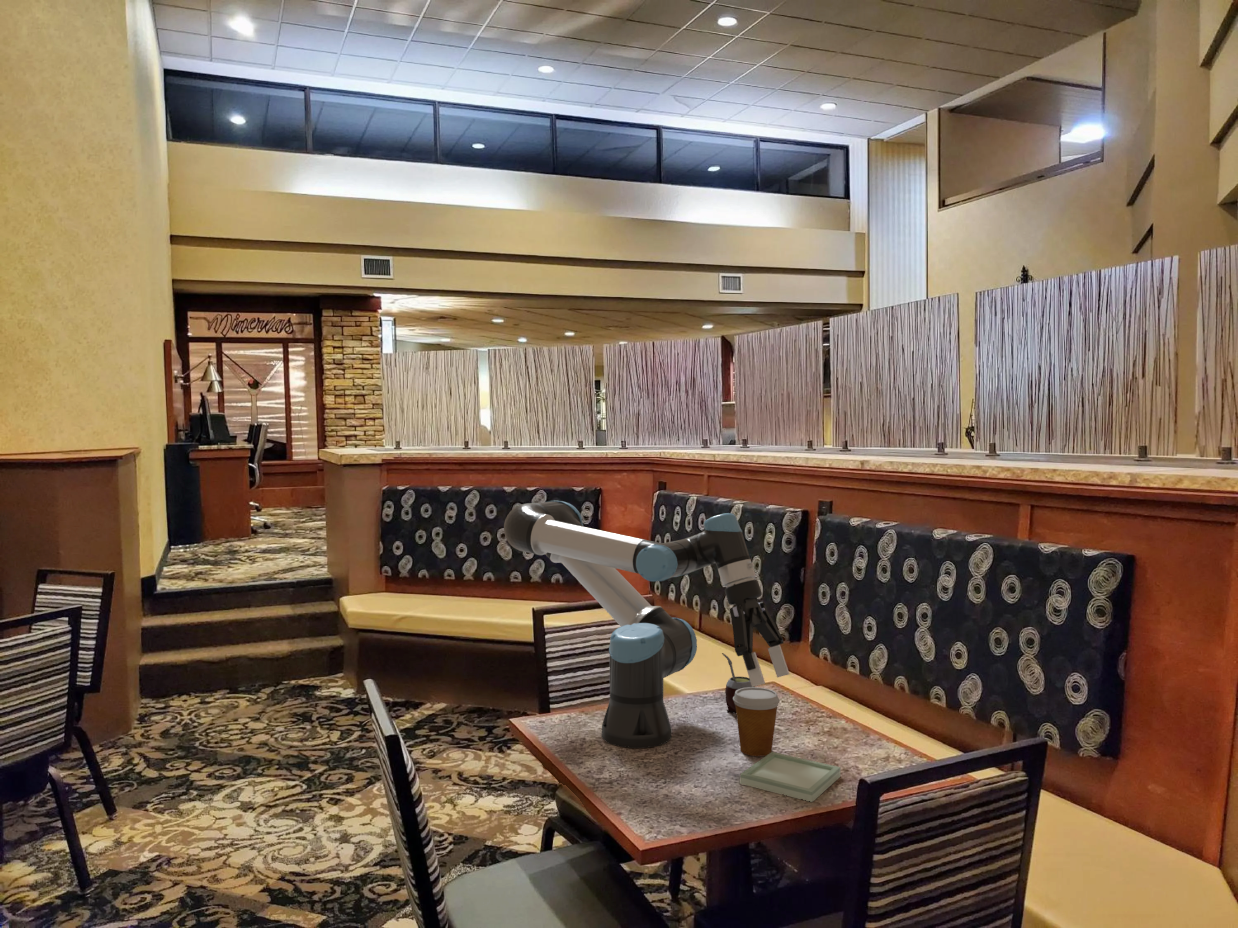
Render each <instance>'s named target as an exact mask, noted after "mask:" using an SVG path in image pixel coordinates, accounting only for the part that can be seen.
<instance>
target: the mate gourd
mask: <svg viewBox="0 0 1238 928" xmlns="http://www.w3.org/2000/svg"><path fill="white" fill-rule="evenodd" d="M721 654H722V656H723V657H724V658H726V659H727V663H728V665H729V668H730V673H731V677H729V679H728V680H727V682H726V684H725V689H724V690H725V692H724V693H725V703H726V706H727V710H726V713H727V714H728V713H729V714H736V706H735V703H734V701H733V697H734V695H735V691H736V690H738V689H741V688H747V687H752V685H751V682H750V678H749V677H746V676H735V672H734V669H733V668H734V667H733V662H732V660H731V659H730V657H729V656H728V655H726V654H725V653H721ZM754 687H756V686H754Z"/></svg>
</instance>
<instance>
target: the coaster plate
mask: <svg viewBox="0 0 1238 928" xmlns="http://www.w3.org/2000/svg"><path fill="white" fill-rule="evenodd" d="M739 776H740V778H739V784H740V785H744V786H748V787H752V788H755V789H760V790H764V791H767V792H771V793H775V794H779V795H782V794H784V795H783V796H786V795H787V797H791V798H794V799H799V800H801V799H803V800H802V801H805V800H806V802H809V801H810V802H809V803H813V802H814V801H816V800H817V798H819V797H820V796H821V795H822V794H823V793H824V792H825V791H826V790H827V789H828V788H830V787H831V786H832V785H833V784H834V783H836V781H837V780H838V779H840V777H841V766H837V765H832V764H828V763H824V762H819V761H814V760H810V759H806V758H801V757H797V756H793V755H788V754H784V753H780V752H774V751H772V752H771V753H770V754H768V755H766V756H763V757H762V758H761V759H760V760H758V761H757V762H755V763H753V765H751V766H750V767H748V768H747V769H746V770H744V771H743V772H741V773H740V774H739Z"/></svg>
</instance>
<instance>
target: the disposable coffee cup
mask: <svg viewBox="0 0 1238 928" xmlns="http://www.w3.org/2000/svg"><path fill="white" fill-rule="evenodd" d="M733 701H734V703H735V706H736V713H735V715H736V722H737V730H738V736H739V737H738V739H739V746H740V752H741V753H742V754H744V755H747V756H749V757H750V756H751V757H765V756H767V755H768V754H770V753H771V752H773V751H772V750H773V742H774V735H775V734H774V733H775V726H776V719H777V718H776V717H777V713H778V711H777V710H778V706H779V703H780V701H781V700H780V698H779V695H778V692H776V691H774V690H773V689H769V688H765V687H758V686H755V687H747V688H741V689H738V690H736V691H735V695H734V697H733Z"/></svg>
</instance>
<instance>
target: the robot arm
mask: <svg viewBox="0 0 1238 928" xmlns="http://www.w3.org/2000/svg"><path fill="white" fill-rule="evenodd" d="M582 520H583V517H582V514H581V513H580V511H579V510H578V509H577V508H576V507H575V506H574V505H573V504H571V503H570V502H566V501H563V500H549V501H543V502H532V503H531V502H529V503H523V504H520V505H518V506H516V507H514V508H512V509H511V510H510V512H509V513H508V514H507V516H506V517H505V520H504V524H503V532H504V536H505V539H506V540H507V542H508V544H509V545H510V546H511V547H512V548H514V549H515V550H518V551H520V552H522V553H523V552H525V553H529V554H532V555H537V556H543V555H545V556H546V557H547V558H548V559H549V560H550V561H551V562H552V563H555V564H557V563H559V564H562V565H563V566H564V567H565V568H566V569H567V570H568V572H570V574H571V575H572V576H573V577H574V578H575V579H576V580H577V581H578V583H580V585H582V587H583V588H584V589H585V590H586V591H587V592H588V593H589V595H591V596H592V597H593V598H594V599H595V601H596V602H597V603H599V605H600V606H601V607H602V608H603V609H604V610H605V611H606V613H607V614H608V615H609V616H610V617H612V619H613V620H614V621H615V622H616V623H617V624H618V625H619V627H617V628H615V630H613V631H612V633H611V635H610V639H609V646H608V654H609V701H608V704H607V708H606V712H605V714H604V718H603V721H602V723H601V738H602V739H603V741H605V742H607V743H608V744H610V745H614V746H617V747H622V748H629V749H631V748H633V749H644V748H645V749H646V748H652V747H656V746H657V747H658V746H661V745H663V744H666V743H668V742H669V741H671V739H672V724H671V722H670V719H669V715H668V711H667V709H666V704H665V702H664V678H666V677H669V676H671V675H673V674H676V673H678V672H680V671H682V670H684V669H685V668H686V667H687V666H688V665H689V664H690V663H691V662H693V660H694V659H695V657H696V653H697V650H698V644H697V642H698V639H697V635H696V633H695V630H694V628H693V627H692V626H691V625H690V624H689V623H688V622H687V621H686V620H684V619H683V618H678V617H672V616H671V615H670V614H669V613H668V612H667V611H666V610H665V609H664V608H663V607H662V606H661V605H651V604H650V602H648V600H646V598H644V596H642V594H640V592H639V591H637V589H636V588H635V587H634V586H633V585H632V584H631V583H630V582H629V581H628V580H627V579H626V578H625V576H623V575H622V573H621V572H619V570H620V571H621V570H622V571H626V572H630V573H634V574H638V575H640V576H641V578H642V579H644V580H646V581H648V582H664V581H667V580H668V579H671V578H677V577H681V576H685V575H686V576H687V575H689V574H690V573H693V572H696V571H698V570H700V569H703V568H705V567H708V566H710V565H716V568H717V571H718V575H719V578H720V582H721V584H722V585H721V586H722V587H726V588H725V589H724V594H725V596H726V600H727V603H728V605H730V606H734V607H731V608H729V613H730V616H731V617H730V618H731V622H732V635H733V643H734V644H733V645H734V651H735V654H736V656H737V657H741V656H742V660H743V662H744V665H745V668H746V672H747V674H748V678H750V682H751V685H752V687H754V686H755V687H758V686H762V685H765V684H766V681H765V678H764V674H763V672H762V669H761V666H760V662H759V658H758V657H757V653H756V651H754V650H753V649H754V648H753V647H754V646H753V645H754V643H753V642H754V628H755V629H756V630H757V632H759V634H760V635H761V637H762V638H763V639H764V641H765V642H766V644H767V645H768V646H769V647H767V650H768V654H769V656H770V660H771V663H772V667H773V669H774V672H775V675H776V678H781V677H785V676H788V675H790V672H789V668H788V665H787V661H786V660H785V659H786V658H785V656H784V653H783V650H782V647H781V645H782V644H784V639H783V636H782V634H781V633H780V630H779V629H778V626H777V625H776V623H775V622H774V619H773V618H772V616H771V614H770V612H769V610H768V608H767V605H766V602H765V601H760V602H758V600H757V598H760V597H762V595H763V592H762V589H761V587H760V584H759V580H757V579H755V577H756V572H755V570H754V569H755V568H754V567H755V564H754V563H753V562H752V560H751V557H750V554H749V551H748V548H747V547H748V546H747V545H746V541H745V538H744V535H743V530H742V529H741V526H740V523H739V521H738V518H737V516H736V515H735V514H734V513H731V512H727V513H721V514H717V515H714V516H711V517H709V518H708V519H706V520H704V522H703V528H704V530H703V531H702V532H699V533H697V534H695V535H691V536H689V537H686V538H682V539H679V540H674V541H668V542H658V541H652V540H647V539H643V538H641V537H640V538H638V537H634V536H631V535H630V536H628V535H626V534H621V533H620V534H619V533H615V532H612V531H611V532H610V531H606V530H601V529H596V528H591V527H586V526H584V523H583V521H582Z"/></svg>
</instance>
